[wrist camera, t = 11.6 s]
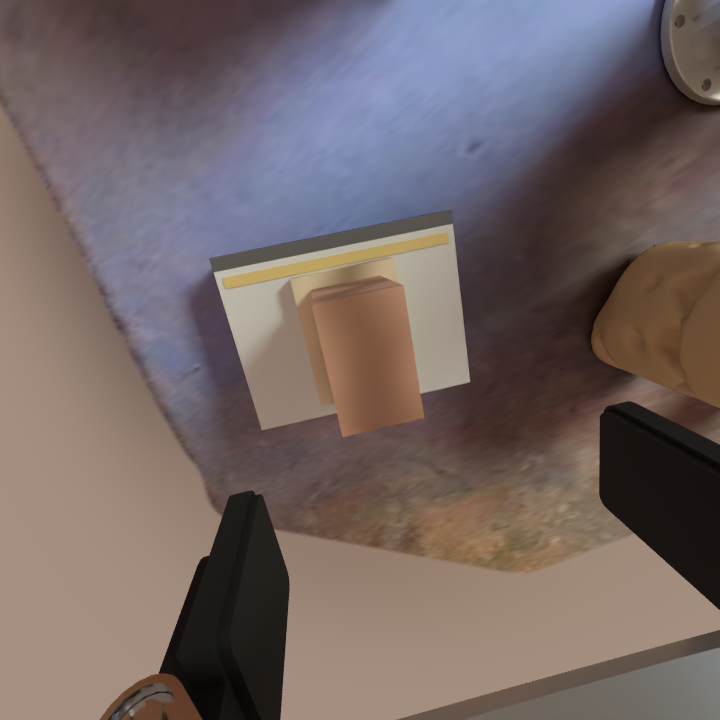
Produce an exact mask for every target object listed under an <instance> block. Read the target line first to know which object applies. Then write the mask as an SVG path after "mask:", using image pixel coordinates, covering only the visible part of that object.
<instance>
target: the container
mask: <svg viewBox="0 0 720 720" xmlns="http://www.w3.org/2000/svg"><path fill="white" fill-rule="evenodd" d="M591 345H592V348H593V350H592V351H593V352H594V353H595V354H596V356H597V358H599V359H600V360H601V361H603V362H605V363H607V364H609V365H611V366H614V367H617V368H619V369H623V370H626V371H627V372H630V373H632V374H634V375H637V376H639V377H642V378H644V379H647V380H650V381H652V382H655V383H657V384H660V385H662V386H665V387H667V388H670V389H673V390H675V391H678V392H680V393H683V394H685V395H688V396H691V397H694V398H697V399H700V400H702V401H704V402H706V403H708V404H710V405H713V406H715V407H718V408H720V241H681V242H669V243H663V244H659V245H653V247H652V248H650V249H648V250H646V251H644V252H643V253H642V254H641V255H640V256H638V257H637V258H636V259H635V260H634V261H633V262H632V263H631V264H630V265H629V266H628V268H627V269H626V270H625V272H624V273H623V274H622V276H621V278H620V279H619V280H618V282H617V284H616V286H615V287H614V289H613V291H612V293H611V294H610V296H609V298H608V300H607V301H606V303H605V304H604V306H603V308H602V309H601V311H600V312H599V314H598V316H597V317H596V320H595V322H594V325H593V332H592V336H591Z"/></svg>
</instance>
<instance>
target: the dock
mask: <svg viewBox="0 0 720 720" xmlns="http://www.w3.org/2000/svg"><path fill="white" fill-rule="evenodd" d="M388 257H394V258H395V264H396V270H397V276H398V283H399V284H402V285H404V291H405V298H406V304H407V310H408V317H409V323H410V330H411V336H412V342H413V349H414V355H415V362H416V368H417V374H418V381H419V387H420V394H421V393H426V392H430V391H434V390H439V389H443V388H447V387H452V386H456V385H460V384H465V383H469V382H470V376H469V367H468V358H467V349H466V340H465V330H464V321H463V312H462V303H461V294H460V285H459V276H458V267H457V257H456V248H455V239H454V230H453V221H452V212H451V210H447V211H442V212H437V213H433V214H428V215H423V216H418V217H413V218H408V219H403V220H398V221H393V222H388V223H383V224H378V225H373V226H368V227H363V228H358V229H353V230H348V231H343V232H338V233H333V234H328V235H323V236H318V237H313V238H308V239H303V240H298V241H293V242H288V243H283V244H279V245H274V246H269V247H264V248H259V249H254V250H249V251H244V252H239V253H234V254H229V255H224V256H219V257H214V258H209V259H210V262H211V265H212V269H213V272H214V275H215V279H216V282H217V285H218V288H219V292H220V295H221V298H222V301H223V305H224V308H225V311H226V314H227V318H228V321H229V324H230V328H231V331H232V334H233V337H234V341H235V344H236V347H237V350H238V354H239V357H240V360H241V363H242V367H243V370H244V373H245V377H246V380H247V383H248V386H249V390H250V393H251V396H252V399H253V403H254V406H255V409H256V412H257V416H258V419H259V422H260V426H261V429H262V430H266V429H270V428H275V427H279V426H283V425H288V424H292V423H296V422H301V421H305V420H309V419H314V418H318V417H322V416H326V415H331V414H335V413H337V411H336V407H335V404H330V405H326V406H322V407H321V403H320V399H319V395H318V391H317V387H316V382H315V378H314V374H313V370H312V366H311V362H310V358H309V354H308V350H307V346H306V342H305V338H304V334H303V330H302V326H301V322H300V318H299V314H298V310H297V306H296V302H295V298H294V294H293V289H292V285H291V281H290V279H291V278H292V277H297V276H302V275H307V274H311V273H316V272H321V271H326V270H331V269H335V268H340V267H345V266H350V265H355V264H359V263H364V262H369V261H374V260H379V259H383V258H388Z"/></svg>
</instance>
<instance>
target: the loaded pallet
mask: <svg viewBox="0 0 720 720" xmlns="http://www.w3.org/2000/svg"><path fill="white" fill-rule="evenodd" d="M290 281H291V285H292V289H293V294H294V298H295V302H296V306H297V310H298V314H299V318H300V322H301V326H302V330H303V334H304V338H305V342H306V346H307V350H308V354H309V358H310V362H311V366H312V370H313V374H314V378H315V382H316V387H317V391H318V395H319V399H320V403H321V407H322V406H326V405H330V404H335V407H336V411H337V415H338V420H339V424H340V428H341V432H342V437H347V436H351V435H355V434H360V433H364V432H368V431H372V430H377V429H381V428H385V427H389V426H393V425H398V424H402V423H406V422H410V421H415V420H419V419H423V418H424V413H423V406H422V400H421V394H420V387H419V381H418V374H417V368H416V362H415V355H414V349H413V342H412V336H411V330H410V323H409V317H408V310H407V304H406V298H405V291H404V285H402V284H399V283H398V276H397V270H396V264H395V258H394V257H388V258H383V259H379V260H374V261H369V262H364V263H359V264H355V265H350V266H345V267H340V268H335V269H331V270H326V271H321V272H316V273H311V274H307V275H302V276H297V277H292V278H291V279H290Z"/></svg>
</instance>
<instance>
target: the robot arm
mask: <svg viewBox="0 0 720 720" xmlns="http://www.w3.org/2000/svg"><path fill="white" fill-rule="evenodd" d="M661 48H662V54H663V58H664V63H665V66H666V69H667V71H668V73H669V75H670V78H671V80H672V81H673V82H674V84H675V85H676V86H677V88H678V89H679V90H680V91H681V92H682V93H683V94H685V95H686V96H687V97H688V98H690V99H692V100H694V101H696V102H698V103H702V104H708V105H719V104H720V0H665V4H664V9H663V13H662V22H661ZM599 494H600V499H601V501H602V503H603V504H604V506H605V507H606V508H607V509H608V510H609V511H610V512H611V513H612V514H614V515H615V516H616V517H617V518H618V519H619V520H620V521H621V522H622V523H624V524H625V525H626V526H627V527H628V528H629V529H630V530H631V531H632V532H634V533H635V534H636V535H637V536H638V537H639V538H640V539H641V540H643V541H644V542H645V543H646V544H647V545H648V546H649V547H650V548H651V549H652V550H654V551H655V552H656V553H657V554H658V555H659V556H660V557H661V558H663V559H664V560H665V561H666V562H667V563H668V564H669V565H670V566H671V567H673V568H674V569H675V570H676V571H677V572H678V573H679V574H680V575H681V576H683V577H684V578H685V579H686V580H687V581H688V582H689V583H690V584H691V585H693V586H694V587H695V588H696V589H697V590H698V591H699V592H700V593H701V594H703V595H704V596H705V597H706V598H707V599H708V600H709V601H710V602H712V603H713V604H714V605H715V606H716V607H717V608H718V609H719V610H720V445H719V444H717V443H715V442H713V441H711V440H709V439H707V438H705V437H703V436H701V435H699V434H697V433H695V432H693V431H691V430H689V429H687V428H685V427H683V426H680V425H678V424H676V423H674V422H672V421H670V420H668V419H666V418H664V417H662V416H660V415H658V414H656V413H654V412H652V411H650V410H648V409H646V408H644V407H642V406H640V405H638V404H636V403H634V402H630V401H629V402H623V403H619V404H615V405H610V406H608V407H606V408H605V410H604V413H602V414H601V416H600V473H599ZM288 601H289V576H288V572H287V568H286V566H285V562H284V559H283V556H282V553H281V550H280V547H279V544H278V541H277V538H276V535H275V532H274V529H273V526H272V522H271V519H270V516H269V513H268V510H267V507H266V504H265V501H264V498H263V496H262V495H261V494H259V495H255V493H254V491H252V490H251V491H247V492H243V493H238V494H234V495H231V496H230V497H229V499H228V502H227V505H226V508H225V511H224V514H223V516H222V519H221V523H220V525H219V529H218V532H217V535H216V538H215V540H214V544H213V547H212V549H211V552H210V555H209V556H206V557H203V558H202V559H201V560H200V562H199V564H198V566H197V569H196V572H195V575H194V577H193V580H192V583H191V585H190V588H189V591H188V594H187V597H186V599H185V602H184V605H183V608H182V610H181V613H180V616H179V619H178V621H177V624H176V627H175V630H174V632H173V635H172V638H171V641H170V643H169V647H168V649H167V652H166V655H165V657H164V660H163V663H162V666H161V668H160V671H159V674H156V675H151V676H149V677H147V678H145V679H142V680H140V681H138V682H137V683H135V684H134V685H133V686H131V687H130V688H128V689H127V690H126V691H124V692H123V693H122V694H121V695H120V696H119V697H118V698H117V699H116V700H115V701H114V702H113V703H112V704H111V705H110V707H109V708H108V709H107V710H106V712H105V713H104V714H103V716H102V717H101V719H100V720H280V714H281V701H282V686H283V672H284V658H285V643H286V630H287V615H288ZM398 720H720V630H718V631H715V632H711V633H707V634H704V635H700V636H696V637H692V638H689V639H685V640H681V641H678V642H674V643H670V644H666V645H663V646H659V647H655V648H652V649H648V650H645V651H641V652H637V653H634V654H630V655H626V656H623V657H619V658H615V659H612V660H608V661H605V662H601V663H597V664H594V665H590V666H587V667H583V668H579V669H576V670H572V671H568V672H565V673H561V674H558V675H554V676H551V677H547V678H543V679H539V680H536V681H532V682H529V683H525V684H521V685H518V686H514V687H511V688H507V689H504V690H500V691H497V692H494V693H490V694H486V695H483V696H479V697H476V698H472V699H468V700H465V701H461V702H458V703H455V704H451V705H447V706H444V707H440V708H437V709H433V710H430V711H426V712H422V713H419V714H415V715H412V716H408V717H405V718H402V719H398Z"/></svg>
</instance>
